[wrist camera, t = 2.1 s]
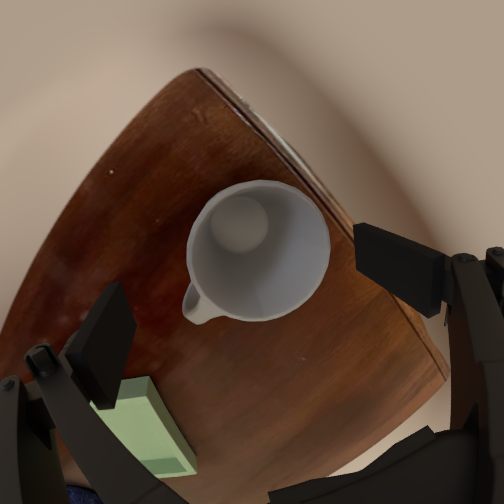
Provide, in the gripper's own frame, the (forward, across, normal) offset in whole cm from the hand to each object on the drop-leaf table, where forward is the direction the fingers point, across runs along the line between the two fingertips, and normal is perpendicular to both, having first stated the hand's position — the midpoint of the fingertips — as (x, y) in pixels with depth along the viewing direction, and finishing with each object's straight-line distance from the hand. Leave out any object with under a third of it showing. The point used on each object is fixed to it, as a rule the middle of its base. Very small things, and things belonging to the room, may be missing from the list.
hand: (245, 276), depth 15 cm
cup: (+8, 0, 0) cm, 8 cm away
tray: (+8, -17, -19) cm, 27 cm away
